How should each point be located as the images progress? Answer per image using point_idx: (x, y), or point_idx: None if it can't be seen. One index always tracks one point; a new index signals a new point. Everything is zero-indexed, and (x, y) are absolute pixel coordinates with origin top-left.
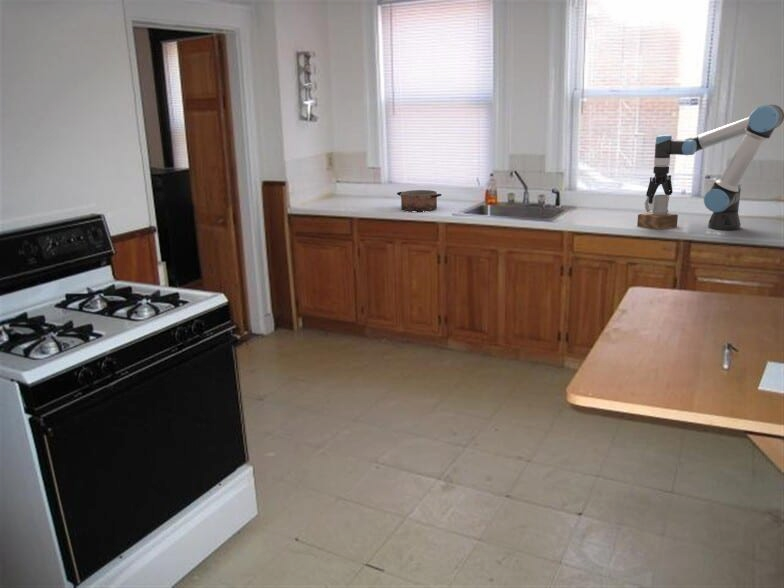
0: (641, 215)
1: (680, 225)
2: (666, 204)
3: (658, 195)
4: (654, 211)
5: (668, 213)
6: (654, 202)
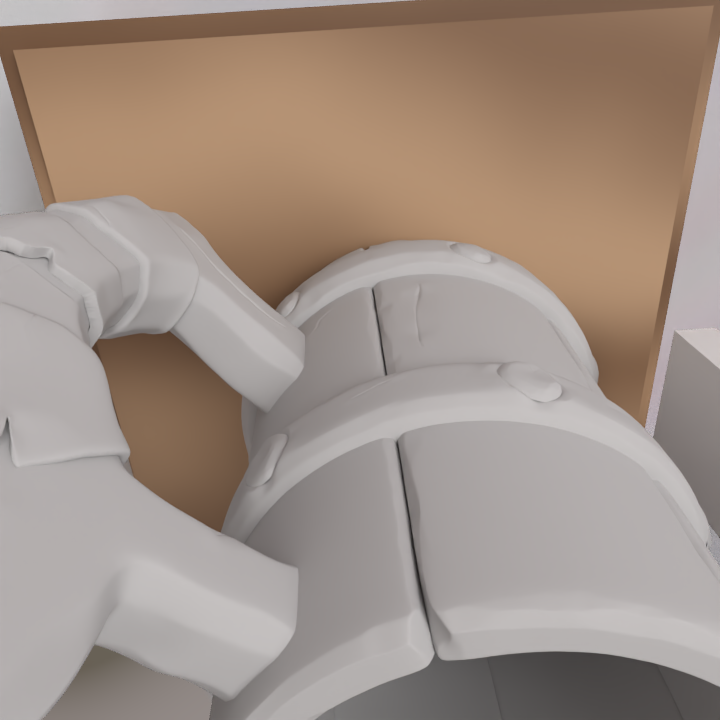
0: (33, 151)
1: (652, 401)
2: (461, 661)
3: (632, 627)
4: (243, 397)
5: (613, 398)
6: (226, 520)
